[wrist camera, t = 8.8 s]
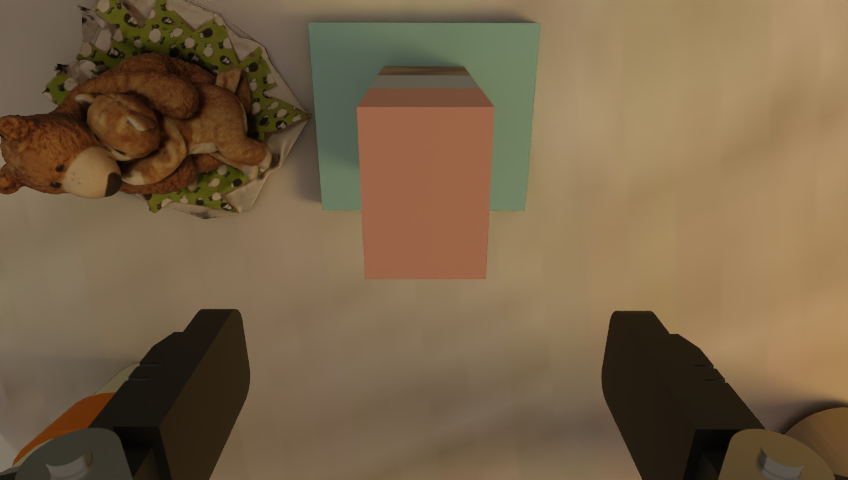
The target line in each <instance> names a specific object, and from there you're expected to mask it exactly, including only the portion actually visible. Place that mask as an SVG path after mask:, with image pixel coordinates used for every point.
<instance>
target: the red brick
mask: <svg viewBox="0 0 848 480" xmlns="http://www.w3.org/2000/svg"><path fill="white" fill-rule="evenodd" d="M494 108H495V107H494V106H493V104H492V103H491V102H490V100H489V99H488V97H487V96H486V95H485V93H484V92H483V91H482V89H481V88H475V89H369V90H368V91H367V93H366V94H365V96H364V97H363V99H362V100H361V102H360V103H359V105H358V106H357V124H358V144H359V164H360V184H361V205H362V225H363V245H364V265H365V279H486V264H487V244H488V225H489V205H490V186H491V166H492V147H493V127H494Z"/></svg>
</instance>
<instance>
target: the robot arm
mask: <svg viewBox="0 0 848 480" xmlns="http://www.w3.org/2000/svg"><path fill="white" fill-rule="evenodd" d="M249 384H250V367H249V361H248V354H247V348H246V341H245V335H244V328H243V322H242V317H241V314H240V312H239V310H237V309H201V310H200V311H199V312H198V313H197V314H196V315H195V317H194V318H193V319H192V321H191V322H190V323H189V325H188V326H187V327H186V329H185V330H184V331H183V332H174V333H172V334H171V335H169V336H168V337H166V338H165V339H163V340H162V341H160V342H159V343H157V344H156V345H154V346H153V347H152V348H151V349H150V351H149V352H148V353H147V354H146V356H145V357H144V358H143V359H142V361H141V362H140V365H139V366H137V367H136V368H135V369H134V370H133V372H132V373H131V374H130V375H129V377H128V381H125V382H124V383H123V384H122V385H121V387H120V388H119V389H118V390H117V392H116V393H115V394H114V395H113V397H112V398H111V399H110V400H109V402H108V403H107V404H106V405H105V406H104V408H103V409H102V410H101V411H100V413H99V414H98V415H97V416H96V418H95V419H94V420H93V421H92V423H91V424H90V425H89V426H88V428H86V429H80V430H76V431H72V432H69V433H66V434H64V435H61V436H59V437H56V438H54V439H53V440H51V441H49V442H47V443H45V444H44V445H42V446H41V447H39V448H38V449H37V450H35V451H34V452H33V453H32V454H31V455H30V456H28V457H27V458H26V459H25V461H24V462H23V463H22V464H21V466H20V467H19V469H18V471H17V472H13V473H9V474H5V475H0V480H209V479H210V477H211V474H212V472H213V470H214V468H215V466H216V463H217V461H218V459H219V457H220V455H221V452H222V450H223V448H224V446H225V444H226V442H227V439H228V437H229V435H230V433H231V431H232V428H233V426H234V424H235V422H236V420H237V417H238V415H239V413H240V411H241V409H242V406H243V404H244V402H245V400H246V397H247V394H248V390H249ZM602 389H603V394H604V397H605V400H606V403H607V405H608V407H609V409H610V411H611V413H612V415H613V418H614V420H615V422H616V424H617V426H618V428H619V430H620V433H621V435H622V437H623V439H624V441H625V443H626V445H627V448H628V450H629V452H630V454H631V456H632V458H633V460H634V463H635V465H636V467H637V469H638V471H639V473H640V475H641V478H642V480H848V407H840V408H833V409H827V410H824V411H821V412H817V413H815V414H813V415H811V416H808V417H806V418H804V419H803V420H801V421H800V422H798V423H797V424H795V425H794V426H793V427H792V428H791V429H790V430H788V431H787V432H786V433H785V435H784V434H780V433H777V432H774V431H770V430H766V429H765V428H764V427H763V425H762V424H761V423H760V422H759V420H758V419H757V418H756V417H755V416H754V414H753V413H752V412H751V411H750V409H749V408H748V407H747V406H746V405H745V403H744V402H743V401H742V400H741V398H740V397H739V396H738V395H737V394H736V392H735V391H734V390H733V389H732V387H731V386H730V385H729V384H728V383H725V379H724V378H723V376H722V375H721V374H720V373H719V371H718V370H717V369H714V368H713V364H712V363H711V362H710V360H709V359H708V358H707V357H706V356H705V354H704V353H703V352H702V351H701V349H700V348H698V347H697V346H695V345H694V344H692V343H691V342H689V341H688V340H686V339H685V338H683V337H682V336H680V335H679V334H669V332H668V331H667V330H666V328H665V327H664V326H663V324H662V323H661V322H660V320H659V319H658V318H657V316H656V315H655V314H654V313H653V312H652V311H615V312H613V314H612V316H611V319H610V324H609V330H608V336H607V342H606V348H605V354H604V360H603V366H602Z"/></svg>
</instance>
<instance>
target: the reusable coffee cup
mask: <svg viewBox="0 0 848 480" xmlns="http://www.w3.org/2000/svg"><path fill="white" fill-rule="evenodd" d="M139 365H140V363H137V364H133V365H131V366H129V367H127V368H125V369H123V370H122V371H121V372H119V373H118V374H117V375H116V376H115V377H114V378H112V379H111V380H110V381H109V382H108V383H107V384H106V385H104V386H103V387H102V388H101V389H100V390H99V391H98V392H96V393H95V394H94V395H93V396H90V397H87V398H85V399H83V400H81V401H79V402H77V403H76V404H75V405H73V406H72V407H71V408H70V409H68V410H67V411H66V412H65V413H64V414H63V415H61V416H60V417H59V418H58V419H57V420H56V421H54V422H53V423H52V424H51V425H50V426H49V427H47V428H46V429H45V430H44V431H43V432H42V433H41V434H39V435H38V436H37V437H36V438H35V439H34V440H32V441H31V442H30V443H29V444H28V445H27V446H25V447H24V448H23V449H22V450H21V451H20V453H19V454H18V455H17V457H16V458H15V460H14V462H13V466H12V467H11V468H9V469H7V470H5V471H3V472H1V473H0V475H5V474H9V473H13V472H17V471H18V469H19V467H20V466H21V464H22V463H23V462H24V461H25V459H26V458H27V457H28V456H30V455H31V454H32V453H33V452H34V451H35V450H37V449H38V448H39V447H41V446H42V445H44V444H45V443H47V442H49V441H51V440H53V439H54V438H56V437H59V436H61V435H64V434H66V433H69V432H72V431H76V430H80V429H86V428H88V426H89V425H90V424H91V423H92V421H93V420H94V419H95V418H96V416H97V415H98V414H99V413H100V411H101V410H102V409H103V408H104V406H105V405H106V404H107V403H108V402H109V400H110V399H111V398H112V397H113V395H114V394H115V393H116V392H117V390H118V389H119V388H120V387H121V385H122V384H123V383H124V382H125V381H128V377H129V375H130V374H131V373H132V372H133V370H134V369H135V368H136V367H137V366H139Z"/></svg>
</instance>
